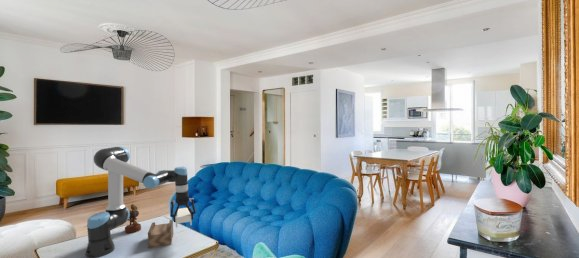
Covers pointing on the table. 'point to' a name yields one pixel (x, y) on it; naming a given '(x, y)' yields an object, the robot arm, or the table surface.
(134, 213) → the music box
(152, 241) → the brown channel-shaped piece
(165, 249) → the table surface
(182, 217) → the thick cream rectangular block
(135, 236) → the table surface
